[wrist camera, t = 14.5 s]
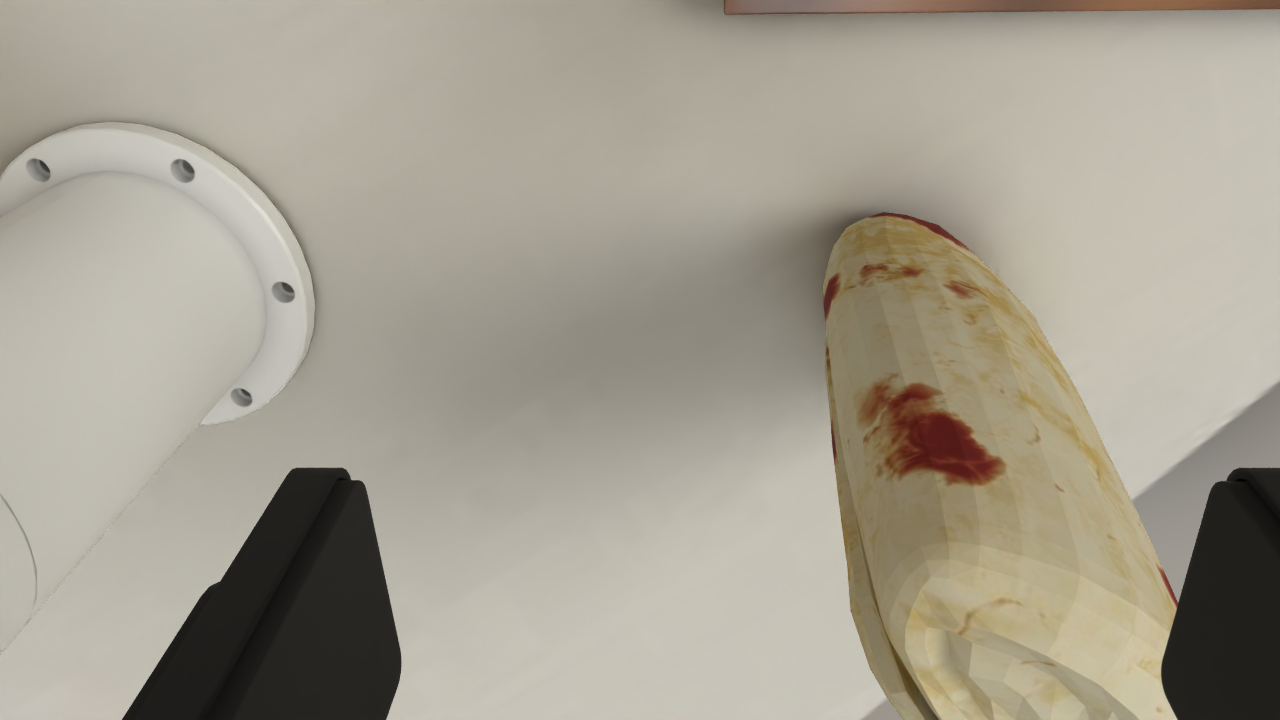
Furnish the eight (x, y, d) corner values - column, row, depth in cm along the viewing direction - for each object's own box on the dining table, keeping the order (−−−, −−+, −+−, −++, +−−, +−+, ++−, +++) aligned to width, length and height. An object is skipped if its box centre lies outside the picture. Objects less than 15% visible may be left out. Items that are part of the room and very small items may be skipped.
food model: (1072, 313, 37) (1358, 780, 20) (929, 421, 40) (1068, 913, 22) (892, 134, 34) (1037, 489, 17) (752, 262, 37) (754, 680, 20)
